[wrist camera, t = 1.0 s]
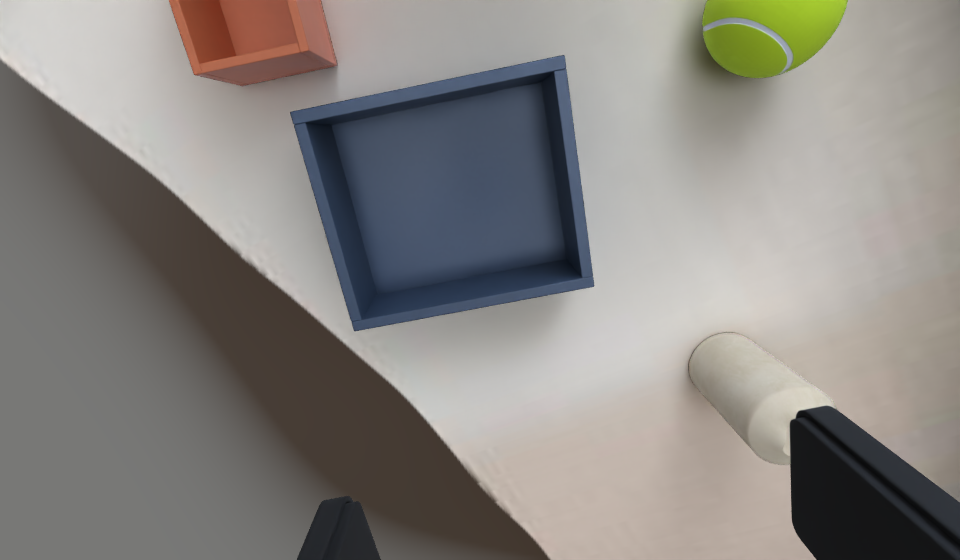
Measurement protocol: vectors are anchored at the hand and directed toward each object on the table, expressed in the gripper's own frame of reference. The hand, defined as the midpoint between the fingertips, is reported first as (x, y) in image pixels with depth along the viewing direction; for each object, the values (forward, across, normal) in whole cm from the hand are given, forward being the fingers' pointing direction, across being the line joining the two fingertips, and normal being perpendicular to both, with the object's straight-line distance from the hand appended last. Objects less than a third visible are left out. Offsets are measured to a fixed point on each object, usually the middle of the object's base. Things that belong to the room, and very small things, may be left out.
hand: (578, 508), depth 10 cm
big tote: (+25, +3, -4) cm, 26 cm away
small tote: (+25, +11, -19) cm, 33 cm away
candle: (+25, -15, +13) cm, 32 cm away
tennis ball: (+25, -17, -11) cm, 33 cm away
